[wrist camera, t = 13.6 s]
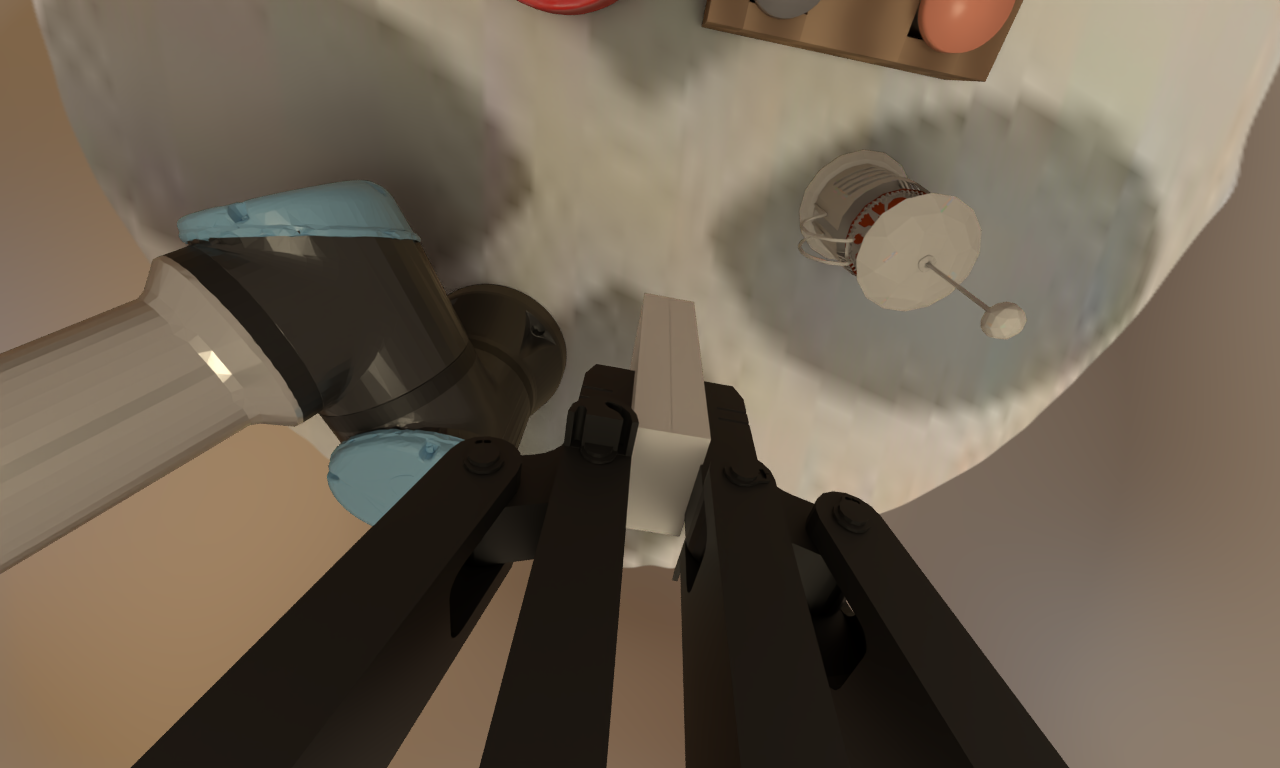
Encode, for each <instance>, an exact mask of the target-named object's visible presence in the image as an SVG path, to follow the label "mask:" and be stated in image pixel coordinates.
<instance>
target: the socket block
mask: <svg viewBox="0 0 1280 768" xmlns="http://www.w3.org/2000/svg"><path fill="white" fill-rule="evenodd" d="M749 1H750V0H707V3H706V8H705V13H704V18H703V23H702V27H704V28H709V29H714V30H718V31H723V32H727V33H732V34H737V35H741V36H746V37H751V38H755V39H760V40H764V41H769V42H774V43H778V44H783V45H787V46H792V47H797V48H801V49H806V50H811V51H815V52H820V53H824V54H829V55H834V56H838V57H843V58H847V59H852V60H857V61H861V62H866V63H871V64H875V65H880V66H884V67H889V68H894V69H898V70H903V71H908V72H912V73H917V74H921V75H926V76H931V77H935V78H940V79H944V80H962V81H982V82H985V81H986V79H987V77H988V75H989V72H990V70H991V68H992V66H993V64H994V62H995V60H996V57H997V55H998V53H999V51H1000V49H1001V47H1002V45H1003V43H1004V40H1005V38H1006V36H1007V34H1008V32H1009V30H1010V28H1011V25H1012V23H1013V21H1014V19H1015V17H1016V15H1017V13H1018V10H1019V8H1020V6H1021V4H1022V2H1023V0H1015V3H1014V6H1013V8H1012V11H1011V13H1010V15H1009V17H1008V19H1007V20H1006V22H1005V23H1004V25H1003V26H1002V27H1001V29H1000V30H999V31H998V32H997V33H996V34H995V35H994V36H993V37H992V38H991V39H990V40H989V41H987V42H986V43H985V44H983V45H981V46H980V47H978V48H976V49H974V50H971V51H968V52H963V53H941V52H938V51H935V50H933V49H932V48H931V47H929V46H928V45H927V44H926V43H925V41H924V40H919V39H915V38H910V37H907V34H908V32H909V29H910V27H911V24H912V21H913V19H914V16H915V13H916V11H917V8H918V5H919V3H920V0H820V2H819V3H818V4H817V5H816V6H814V7H813V8H812V9H811V10H809V11H808V12H806V13H804V14H802V15H800V16H797V17H794V18H791V19H776V18H773V17H770V16H768V15H767V14H765V13H764V12H763V11H762V10H761V9H760V8H759V7H758V6H757V4H756V3H752V2H749Z"/></svg>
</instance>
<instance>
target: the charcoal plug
mask: <svg viewBox="0 0 1280 768" xmlns="http://www.w3.org/2000/svg"><path fill="white" fill-rule="evenodd" d="M754 1H755V3H756V4H757V6H758V7H759V8H760V9H761V10H762V11H763V12H764V13H765V14H767V15H768V16H770V17H773V18H776V19H791V18H794V17H797V16H800V15H802V14H804V13H806V12H808V11H809V10H811V9H812V8H813V7H814V6H816V5H817V4H818V3H819V2H820V0H754Z"/></svg>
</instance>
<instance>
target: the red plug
mask: <svg viewBox="0 0 1280 768" xmlns="http://www.w3.org/2000/svg"><path fill="white" fill-rule="evenodd" d="M1014 3H1015V0H920V3H919V5H918V8H917V11H916V13H915V16H914V19H913V21H912V24H911V27H910V29H909V32H908V34H907V35H908V36H910V37H922V38H923V40H924V41H925V43H926V44H927V45H928V46H929V47H931V48H932V49H933V50H935V51H938V52H941V53H963V52H968V51H971V50H974V49H976V48H978V47H980V46H981V45H983V44H985V43H986V42H987V41H989V40H990V39H991V38H992V37H993V36H994V35H995V34H996V33H997V32H998V31H999V30H1000V29H1001V27H1002V26H1003V25H1004V23H1005V22H1006V20H1007V19H1008V17H1009V15H1010V13H1011V11H1012V8H1013V6H1014Z"/></svg>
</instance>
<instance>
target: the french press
mask: <svg viewBox="0 0 1280 768" xmlns="http://www.w3.org/2000/svg"><path fill="white" fill-rule="evenodd" d="M911 182H912V183H911ZM910 183H911V184H912V185H913V187H914V189H915V190H913V189H912V187H911V185H910ZM914 184H915V185H916V186H917V187H918V188H919V189H920V191H919V190H918V189H917V187H916V186H915V185H914ZM799 216H800V229H801V233H802V234H803V236H804V238H805V239H803V240H801V241H800V243H799V245H798V249H799V251H800V252H801V254H803V255H804V256H805V257H807V258H810V259H813V260H816V261H820V262H823V263H826V264H831V265H841V266H843V267H844V268H845V269H846V270H847V271H849V272H850V273H851V274H852V275H855V276H857V281H858V283H859V285H860V286H861V288H862V290H863V292H864V294H865V296H866V298H868V299H870V300H871V301H873V302H874V303H876V304H877V305H879V306H880V307H882V308H886V309H893V310H900V311H908V310H912V309H917V308H922V307H927V306H929V305H931V304H933V303H935V302H937V301H938V300H940V299H942V298H944V297H946V296H947V295H949V294H951V293H952V292H953V291H954V290H955V289H956V288H957V289H958V290H959V291H961V292H962V293H963V294H965V295H966V296H967V297H968V298H970V299H971V300H972V301H974V302H975V303H976V304H978V305H979V306H980V307H982V308H983V309H984V310H986V312H985V313H984V315H983V317H982V319H981V328H982V331H983V332H984V333H985V334H986V335H987V336H989V337H993V338H999V339H1008V338H1010V337H1012V336H1014V335H1016V334H1018V333H1020V332H1021V330H1022V329H1023V327H1024V325H1025V323H1026V321H1027V319H1026V316H1025V313H1024V311H1023V310H1022V309H1021V308H1020V307H1019V306H1018V305H1016V304H1014V303H1010V302H1003V303H998V304H996V305H994V306H992V307H988V306H987V305H986V304H984V303H983V302H982V301H980V300H979V299H978V298H976V297H975V296H974V295H972V294H971V293H970V292H968V291H967V290H966V289H964V288H963V287H961V286H960V284H961V282H962V281H963V280H964V279H965V278H966V277H967V276H968V275H969V273H970V271H971V269H972V267H973V265H974V263H975V261H976V259H977V257H978V255H979V252H980V241H981V231H982V230H981V228H980V225H979V223H978V220H977V218H976V215H975V213H974V210H973V209H971V208H970V207H969V206H967V205H966V204H965V203H963V202H962V201H961V200H960V199H958V198H957V197H954V196H948V195H942V194H936V193H930V192H929V191H928V190H926V189H925V188H923V187H922V186H921V185H919V184H918V183H916V182H914V181H912V180H910V179H908V178H907V176H906V174H905V172H904V170H903V167H902V165H901V164H899V163H898V162H896V161H895V160H894V159H892V158H891V157H890V156H888V155H887V154H886V153H882V152H875V151H869V150H860V151H856V152H852V153H849V154H845V155H841V156H839V157H838V158H836V159H835V160H833V161H832V162H830V163H829V164H828V165H826V166H825V167H823V168H822V169H821V170H819V172H818V173H817V175H816V176H815V177H814V179H813V180H812V181H811V183H810V184H809V186H808V187H807V188H806V190H805V193H804V196H803V200H802V203H801V207H800V210H799ZM805 241H807V243H808V244H809V246H810V248H811V249H813V250H814V251H816V252H818V253H819V254H821V255H822V256H824V257H825V258H828V259H835V260H838V262H836V261H828V260H824V259H820V258H817V257H813V256H811V255H809V254H807V253H805V252H804V251H803V249H802V248H801V246H802V244H803V242H805ZM844 261H846V262H844ZM846 265H849V266H850V267H851V268H850V267H848V266H846ZM846 267H847V268H849V269H851V270H852V271H851V270H849V269H847V268H846Z"/></svg>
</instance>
